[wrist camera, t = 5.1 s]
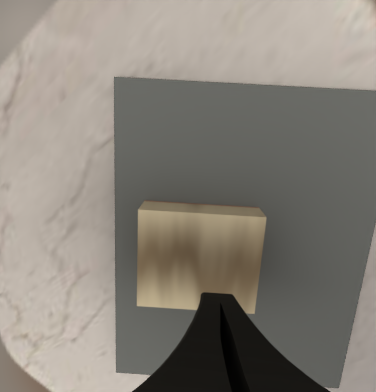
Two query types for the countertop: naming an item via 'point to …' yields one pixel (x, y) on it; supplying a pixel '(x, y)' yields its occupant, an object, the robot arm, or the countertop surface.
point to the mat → (252, 205)
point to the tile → (198, 253)
